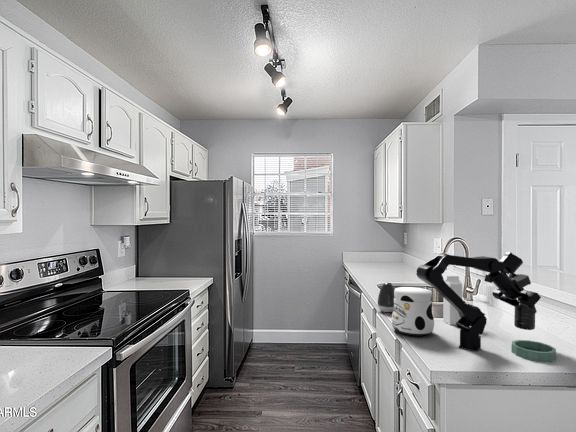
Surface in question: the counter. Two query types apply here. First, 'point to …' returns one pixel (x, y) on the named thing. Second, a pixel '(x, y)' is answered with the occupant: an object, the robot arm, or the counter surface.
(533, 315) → the supplement bottle
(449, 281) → the milk
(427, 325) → the milk container
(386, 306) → the black canister
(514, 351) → the cup
